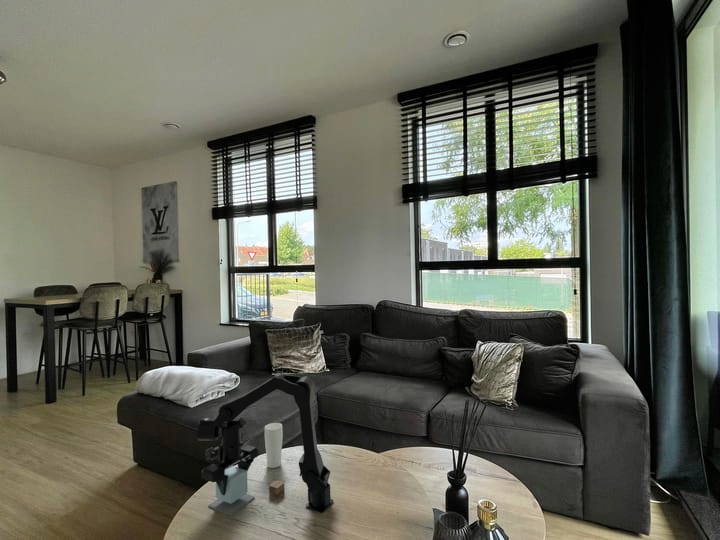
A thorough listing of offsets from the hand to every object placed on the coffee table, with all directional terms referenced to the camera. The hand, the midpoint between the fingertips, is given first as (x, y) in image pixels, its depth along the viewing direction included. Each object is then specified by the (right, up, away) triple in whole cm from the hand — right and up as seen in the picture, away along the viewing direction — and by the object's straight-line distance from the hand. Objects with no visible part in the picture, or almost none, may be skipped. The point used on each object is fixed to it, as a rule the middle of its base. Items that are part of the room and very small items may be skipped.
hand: (232, 488), depth 118 cm
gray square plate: (0, -4, 0) cm, 4 cm away
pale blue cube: (0, -2, 0) cm, 2 cm away
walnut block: (+14, -4, +4) cm, 15 cm away
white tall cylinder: (+8, -5, +23) cm, 25 cm away
